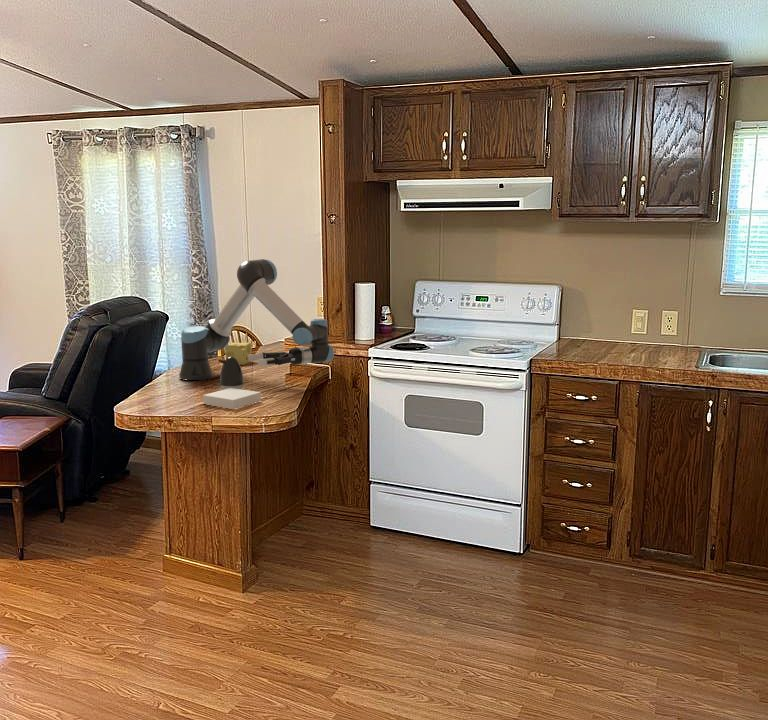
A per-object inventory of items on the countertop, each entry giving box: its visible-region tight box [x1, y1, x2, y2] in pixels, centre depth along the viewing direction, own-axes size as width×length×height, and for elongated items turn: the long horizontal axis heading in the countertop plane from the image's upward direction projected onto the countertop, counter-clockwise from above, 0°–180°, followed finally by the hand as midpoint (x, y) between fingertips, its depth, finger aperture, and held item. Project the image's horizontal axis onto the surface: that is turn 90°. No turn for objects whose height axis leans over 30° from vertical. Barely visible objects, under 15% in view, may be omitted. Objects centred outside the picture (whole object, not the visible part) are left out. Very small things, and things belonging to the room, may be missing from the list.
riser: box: [202, 388, 262, 410], centre depth 320 cm, size 16×16×4 cm
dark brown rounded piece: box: [218, 357, 245, 390], centre depth 340 cm, size 10×10×15 cm
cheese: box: [225, 342, 253, 366], centre depth 408 cm, size 10×11×10 cm
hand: (253, 360), depth 344 cm, fingers open, 13 cm apart
